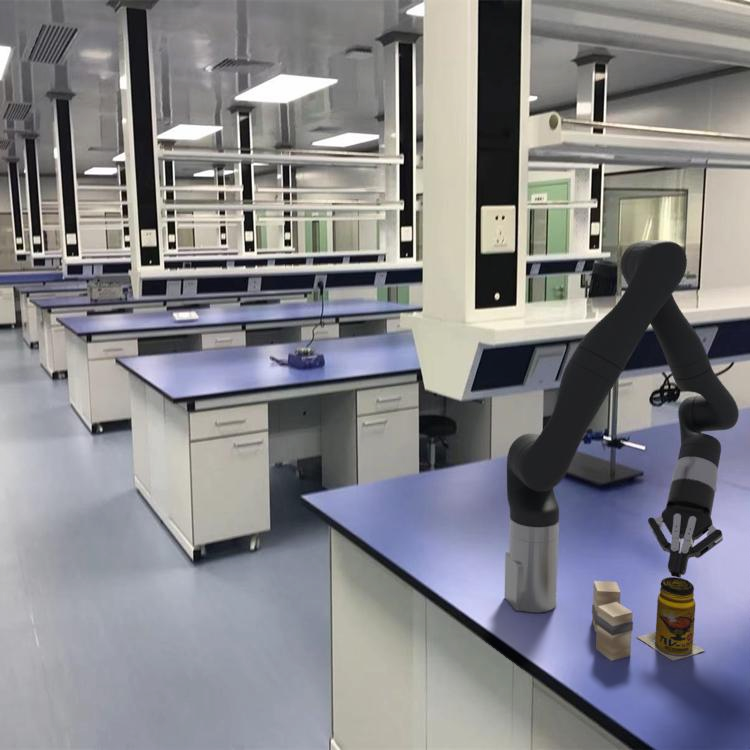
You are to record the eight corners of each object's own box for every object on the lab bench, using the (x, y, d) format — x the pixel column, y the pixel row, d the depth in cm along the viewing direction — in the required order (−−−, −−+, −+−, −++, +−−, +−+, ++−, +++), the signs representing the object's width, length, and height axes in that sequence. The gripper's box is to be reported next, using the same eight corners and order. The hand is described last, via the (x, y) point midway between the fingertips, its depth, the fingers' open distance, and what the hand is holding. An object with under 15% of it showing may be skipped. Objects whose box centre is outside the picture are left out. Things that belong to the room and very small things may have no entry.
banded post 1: (595, 632, 134) (596, 591, 132) (591, 620, 138) (593, 580, 136) (619, 633, 133) (621, 592, 132) (614, 622, 137) (616, 581, 136)
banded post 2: (611, 661, 124) (613, 617, 123) (595, 649, 128) (596, 606, 127) (631, 656, 126) (633, 612, 125) (614, 643, 130) (616, 601, 128)
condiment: (673, 662, 124) (677, 595, 122) (636, 637, 132) (640, 574, 130) (705, 651, 127) (709, 586, 125) (667, 628, 135) (671, 567, 132)
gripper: (652, 471, 137) (633, 558, 129) (731, 483, 130) (715, 575, 122) (657, 491, 142) (639, 575, 134) (733, 503, 135) (718, 592, 127)
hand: (675, 575), depth 128 cm, fingers closed
